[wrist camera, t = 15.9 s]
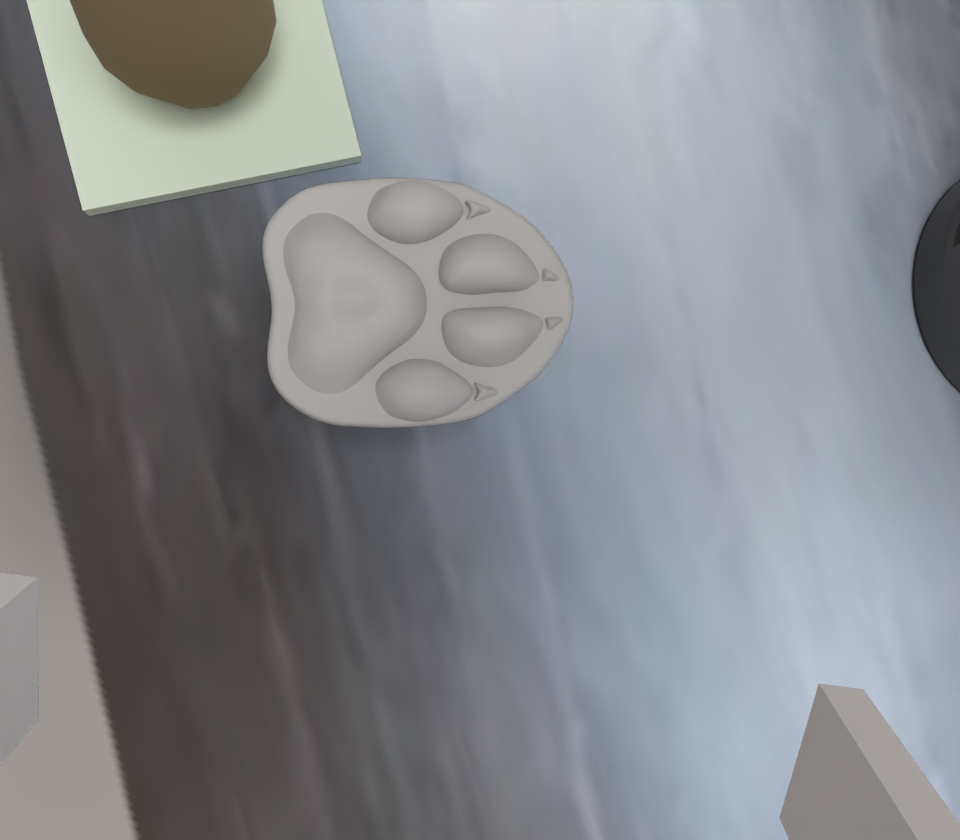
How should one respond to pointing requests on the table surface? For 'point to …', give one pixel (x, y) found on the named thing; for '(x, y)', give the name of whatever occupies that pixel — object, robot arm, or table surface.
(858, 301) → the table surface
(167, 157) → the sage mat
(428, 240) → the lumpy-topped squat cylinder
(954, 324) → the robot arm
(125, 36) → the squeeze bottle
